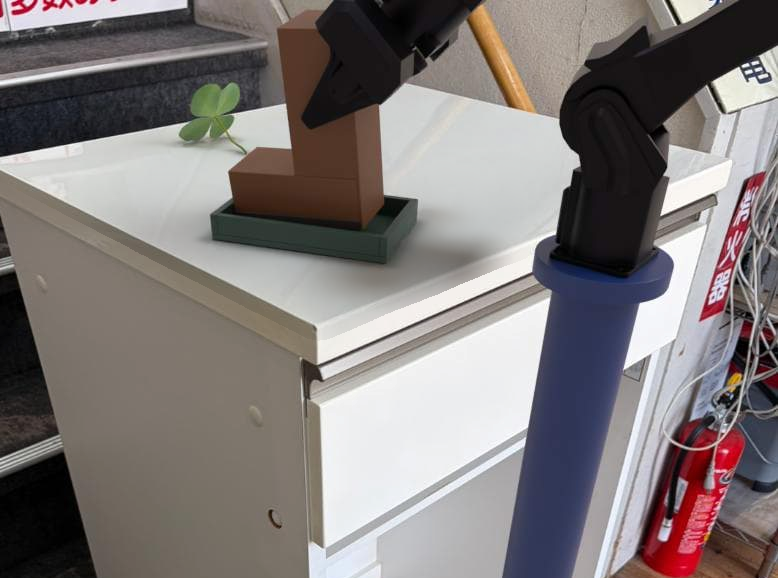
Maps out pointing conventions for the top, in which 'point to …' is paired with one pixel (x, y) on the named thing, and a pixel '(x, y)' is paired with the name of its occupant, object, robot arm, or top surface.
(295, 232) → the tray
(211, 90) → the green leafy piece
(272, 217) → the boot
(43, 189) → the top surface
